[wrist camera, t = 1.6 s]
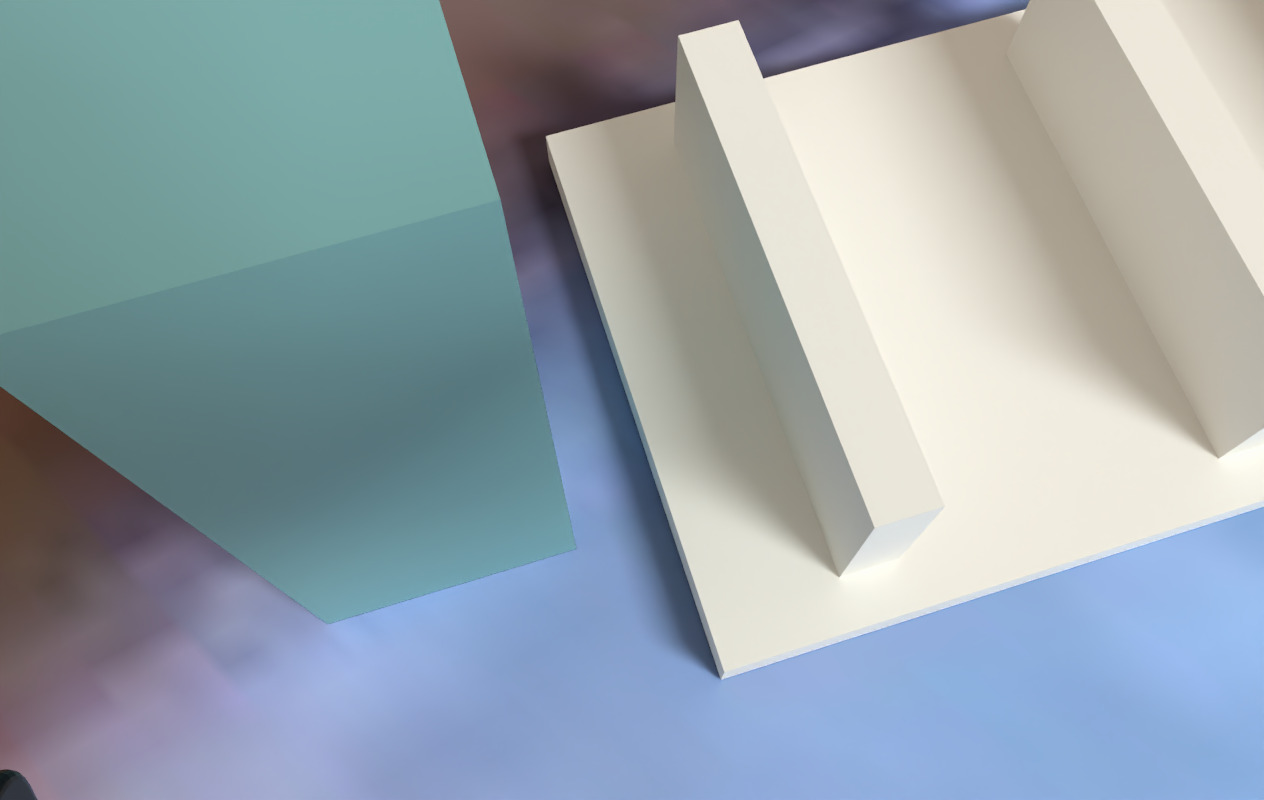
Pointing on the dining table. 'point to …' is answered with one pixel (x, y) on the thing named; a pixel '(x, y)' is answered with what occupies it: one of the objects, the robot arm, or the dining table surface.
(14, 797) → the robot arm
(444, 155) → the teal book
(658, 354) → the book rack
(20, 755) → the dining table surface
